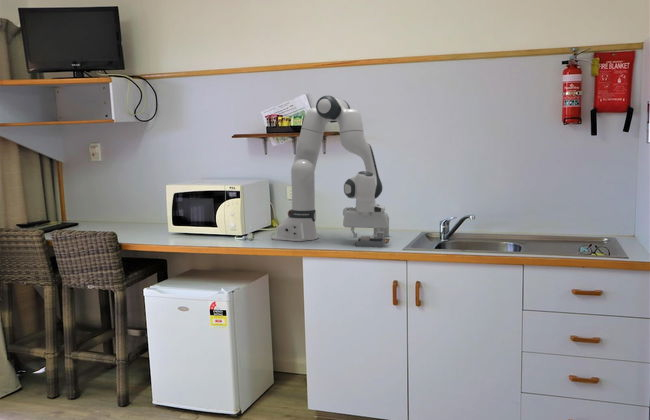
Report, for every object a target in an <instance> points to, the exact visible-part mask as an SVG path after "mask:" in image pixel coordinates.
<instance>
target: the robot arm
mask: <svg viewBox="0 0 650 420" xmlns="http://www.w3.org/2000/svg"><path fill="white" fill-rule="evenodd" d="M328 123H331V124H333V123H338V127H339V138H340V139H339V140H340V144H341V146H342V148H343V149H344V150H346V151H347V152H349V153H352V154H354V155H356V156H358V157H359V158H361V159H362V161H363V163H364V164H363V165H364V167H365V169H364V170H363V171H358V172H357V173H356V175H355V176H352V177H350V178H348V179H347V180H346V181H344V184H343V193H344V195H345V196H346V197H347V198H349V199H352V200H353V199H355V207H354V206H352V207H351V206H346V207H345V208H344V209H343V210H342V216H343V221H342V225H343V227H344V228H350V231H351V233H352V238H357V237H358V234H357V232H355V228H357V229H362V228H363V229H374V228H376V231H377V233H376V234H374V233H373V238H377V234H378V232H379V231H380V228H382V229H385V228H387V226H388V220H387V214H388V213H387V214H386V212H385V211H386V207H385V206H383V205H380V204H377V203H376V199H378V198H379V196H380V195H381V194H382V192H383V182H382V181H381V179H380V176H379V171H378V168H377V163H376V158H375V155H374V152H373V148H372V146H371V144H369V143H368V142H367V140H366V136H365V134H364V126H363V120H362V116H361V113H360V111H359V110H357V109H355V108H351V107H350V105H349V103H348V102H347V101H346V100H343V99H341V98H340V97H337V96H333V95H322V96H321V97H319V99H318V100H317V101H316V104H315V107H311V108H309V109H308V110H307V111H306V113H305V116H304V118H303V121H302V124H301V129H300V134H299V137H298V141H297V144H296V145H297V146H296V150H295V155H294V160H293V163H292V166H291V170H290V174H291V209H289V210H288V211H287V216H288V217H287V218H285V219H284V220H283V221H282V222H281V223H279V224H278V226H277V228H276V232H275V234H274V235H272V236H271V239H272V240H277V241H292V242H293V241H294V242H304V241H313V240H317V239H319V236H318V233H317V226H316V221H317V213H316V212H317V211H316V209H315V208H316V207H315V202H316V201H315V197H316V196H315V193H316V191H315V183H316V182H315V171H316V167H317V162H318V160H319V154H320V152H321V151H320V150H321V146H322V142H323V138H324V133H325V129H326V126H327V124H328Z"/></svg>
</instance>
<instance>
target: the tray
mask: <svg viewBox="0 0 650 420" xmlns="http://www.w3.org/2000/svg"><path fill="white" fill-rule="evenodd" d="M384 239H385V245H386V244H388V243H389V241H390V238H388V237H384Z"/></svg>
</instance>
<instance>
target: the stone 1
mask: <svg viewBox="0 0 650 420" xmlns="http://www.w3.org/2000/svg"><path fill="white" fill-rule="evenodd" d="M359 238H360V241H370V238H371V235H361V236H360V237H359Z"/></svg>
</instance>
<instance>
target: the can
mask: <svg viewBox="0 0 650 420" xmlns="http://www.w3.org/2000/svg"><path fill="white" fill-rule="evenodd" d="M385 213H386V212H385ZM386 214H387V220H388V226H387V228H385V229H382V228H380V231H379V232H384V238H388V237H389V236H390V232H389V231H390V217H389V215H388V213H386ZM375 232H376V228H373V235H374V234H375Z"/></svg>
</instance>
